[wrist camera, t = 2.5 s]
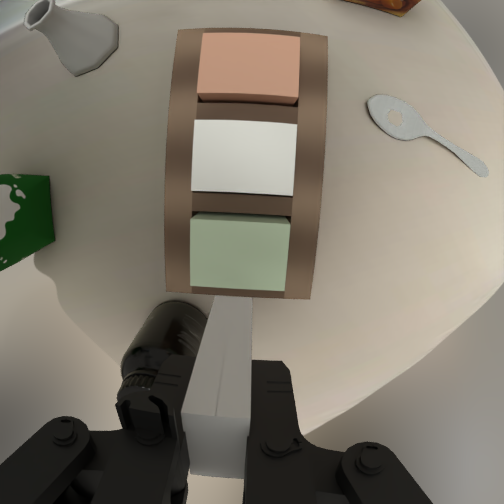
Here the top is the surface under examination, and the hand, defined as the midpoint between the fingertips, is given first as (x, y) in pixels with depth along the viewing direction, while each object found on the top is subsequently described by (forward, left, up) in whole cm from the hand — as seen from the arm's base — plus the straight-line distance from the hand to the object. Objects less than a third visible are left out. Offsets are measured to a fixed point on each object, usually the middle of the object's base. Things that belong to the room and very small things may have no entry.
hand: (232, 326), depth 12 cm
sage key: (0, 0, -14) cm, 14 cm away
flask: (-20, -17, -16) cm, 31 cm away
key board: (-7, 0, -16) cm, 17 cm away
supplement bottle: (+10, -6, -16) cm, 20 cm away
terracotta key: (-14, 0, -14) cm, 20 cm away
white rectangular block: (-7, 0, -14) cm, 15 cm away
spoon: (-11, +20, -16) cm, 28 cm away
